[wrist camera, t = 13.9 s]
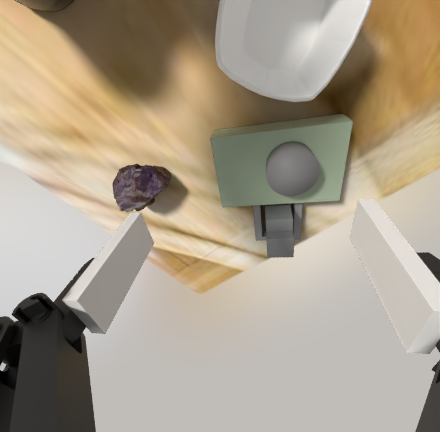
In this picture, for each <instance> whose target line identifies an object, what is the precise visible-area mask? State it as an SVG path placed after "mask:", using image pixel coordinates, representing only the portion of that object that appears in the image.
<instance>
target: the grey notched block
mask: <svg viewBox="0 0 440 432" xmlns="http://www.w3.org/2000/svg"><path fill="white" fill-rule="evenodd" d="M265 217H266V236H267V254H268V257H293V253H294V235H293V216H292V211H291V207H290V203H289V204H271V205H265Z"/></svg>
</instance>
